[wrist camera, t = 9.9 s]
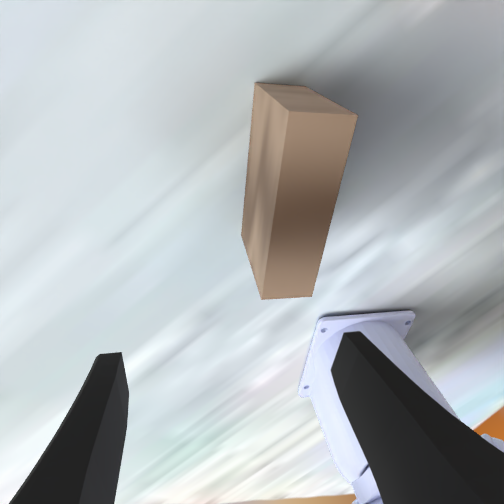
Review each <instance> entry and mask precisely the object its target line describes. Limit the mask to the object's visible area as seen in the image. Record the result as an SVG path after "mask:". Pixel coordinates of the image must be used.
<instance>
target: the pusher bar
mask: <svg viewBox="0 0 504 504" xmlns="http://www.w3.org/2000/svg"><path fill="white" fill-rule="evenodd" d="M357 118H358V115H357V114H355V113H353V112H351V111H349V110H347V109H346V108H344V107H342V106H340V105H338V104H337V103H335V102H333V101H331V100H329V99H327V98H326V97H324V96H322V95H320V94H318V93H317V92H315V91H313V90H311V89H309V88H307V87H306V86H293V85H280V84H267V83H255V86H254V97H253V109H252V120H251V131H250V142H249V153H248V165H247V176H246V187H245V198H244V209H243V221H242V232H241V236H242V239H243V242H244V246H245V249H246V252H247V255H248V258H249V262H250V265H251V268H252V271H253V274H254V278H255V281H256V284H257V287H258V290H259V294H260V297H261V300H265V299H281V298H297V297H312V294H313V290H314V286H315V282H316V278H317V274H318V270H319V266H320V263H321V259H322V255H323V251H324V247H325V243H326V239H327V235H328V231H329V227H330V223H331V219H332V216H333V212H334V208H335V204H336V200H337V196H338V192H339V188H340V184H341V180H342V176H343V172H344V168H345V165H346V161H347V157H348V153H349V149H350V145H351V141H352V137H353V133H354V129H355V125H356V121H357Z"/></svg>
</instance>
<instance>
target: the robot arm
mask: <svg viewBox="0 0 504 504" xmlns="http://www.w3.org/2000/svg"><path fill="white" fill-rule="evenodd" d="M415 317H416V315H415V313H414V312H413V311H397V312H384V313H371V314H358V315H345V316H333V317H323V318H321V319H320V320H319V321H318V322H317V326H316V329H315V333H314V336H313V340H312V343H311V347H310V350H309V354H308V357H307V361H306V365H305V368H304V372H303V375H302V379H301V382H300V386H299V389H298V394H299V396H300V397H310V398H311V401H312V404H313V406H314V409H315V412H316V415H317V417H318V420H319V423H320V426H321V429H322V431H323V434H324V437H325V440H326V442H327V445H328V448H329V451H330V454H331V456H332V459H333V461H334V464H335V466H336V468H337V469H338V471H339V472H340V474H341V475H342V476H343V477H344V478H345V480H346V481H347V482H349V483H350V484H351V485H352V487H353V490H354V492H355V495H356V497H357V499H356V500H355V501H354V502H353V503H352V504H504V442H503V441H502V440H500V439H497V438H491V437H490V436H489V435H487V434H483V435H481V436H480V435H478V434H477V433H476V432H474V431H473V430H472V429H470V428H469V427H468V426H466V425H465V424H464V423H462V422H461V421H460V419H459V418H458V416H457V415H456V414H455V412H454V411H453V409H452V408H451V406H450V405H449V404H448V402H447V401H446V399H445V398H444V397H443V395H442V394H441V392H440V391H439V390H438V388H437V387H436V385H435V384H434V382H433V381H432V380H431V378H430V377H429V375H428V374H427V373H426V371H425V370H424V368H423V367H422V366H421V364H420V363H419V361H418V360H417V359H416V357H415V356H414V354H413V353H412V351H411V350H410V349H409V347H408V346H407V344H406V343H405V342H404V339H405V337H406V335H407V333H408V331H409V329H410V327H411V325H412V323H413V321H414V319H415ZM128 402H129V390H128V385H127V379H126V374H125V368H124V363H123V357H122V352H118V353H107V354H99V355H98V356H97V357H96V359H95V361H94V363H93V366H92V368H91V370H90V372H89V374H88V376H87V378H86V380H85V382H84V384H83V386H82V388H81V390H80V392H79V394H78V395H77V397H76V399H75V401H74V403H73V405H72V406H71V408H70V410H69V412H68V413H67V415H66V417H65V418H64V420H63V422H62V424H61V425H60V427H59V429H58V430H57V432H56V434H55V435H54V437H53V439H52V440H51V442H50V443H49V445H48V446H47V448H46V450H45V451H44V453H43V454H42V456H41V457H40V459H39V460H38V462H37V464H36V465H35V467H34V468H33V470H32V471H31V473H30V474H29V476H28V477H27V479H26V480H25V482H24V483H23V484H22V486H21V487H20V489H19V490H18V492H17V493H16V494H15V496H14V497H13V499H12V500H11V501H10V503H9V504H114V501H115V495H116V489H117V484H118V478H119V472H120V466H121V460H122V454H123V448H124V442H125V436H126V430H127V418H128Z"/></svg>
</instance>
